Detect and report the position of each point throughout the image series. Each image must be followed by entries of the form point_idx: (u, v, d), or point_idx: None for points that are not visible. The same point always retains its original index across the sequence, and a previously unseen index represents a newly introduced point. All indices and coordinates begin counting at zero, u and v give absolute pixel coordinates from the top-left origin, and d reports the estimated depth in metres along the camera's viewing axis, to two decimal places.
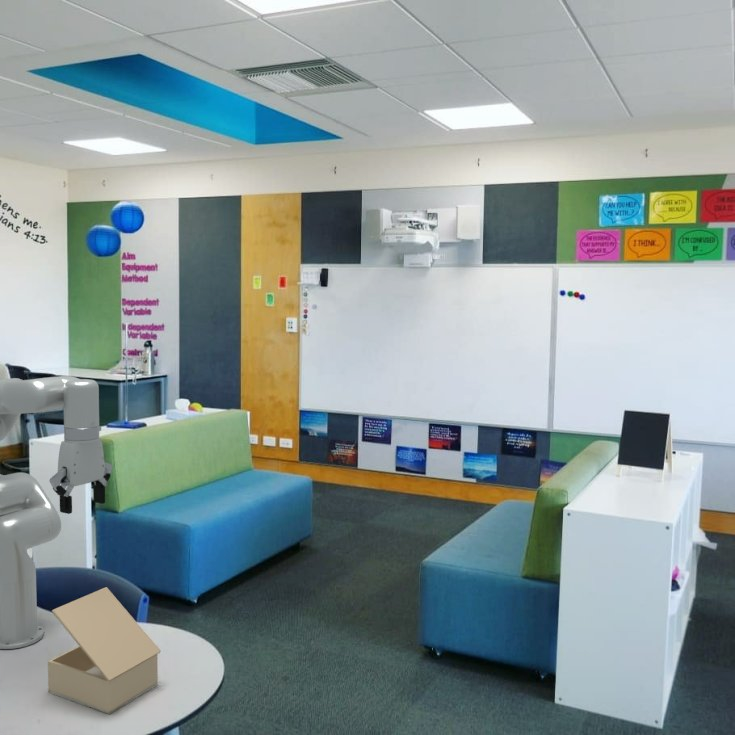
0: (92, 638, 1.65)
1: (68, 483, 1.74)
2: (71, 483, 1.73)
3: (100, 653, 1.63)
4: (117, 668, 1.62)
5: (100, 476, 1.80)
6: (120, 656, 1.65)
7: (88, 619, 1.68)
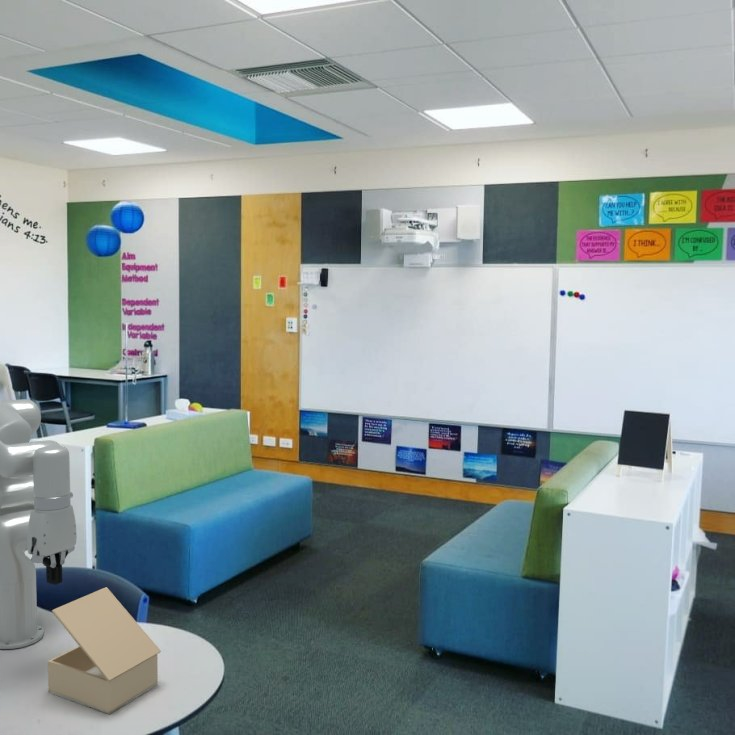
0: (92, 638, 1.65)
1: (47, 556, 1.72)
2: (41, 554, 1.69)
3: (100, 653, 1.63)
4: (117, 668, 1.62)
5: (72, 544, 1.76)
6: (120, 656, 1.65)
7: (88, 619, 1.68)
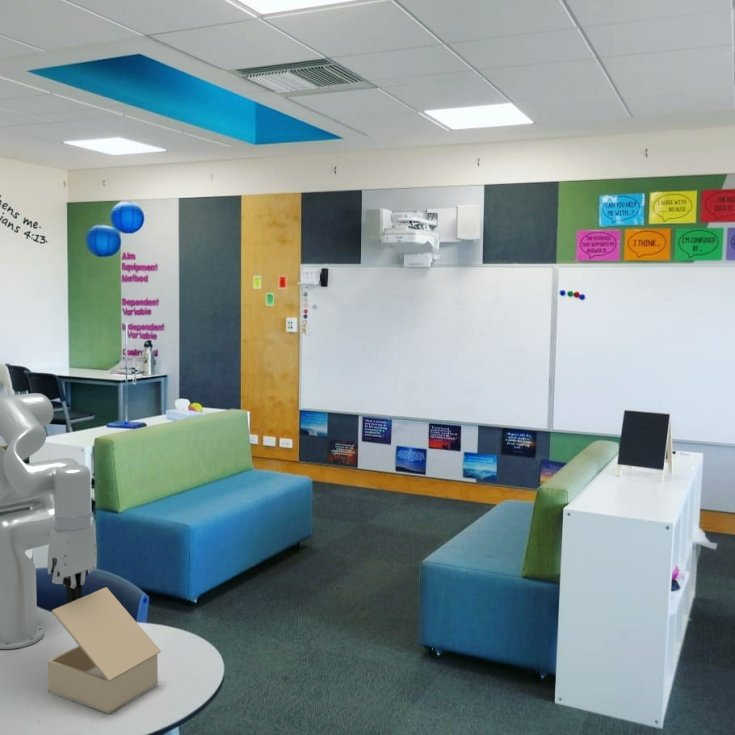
0: (92, 638, 1.65)
1: (68, 577, 1.70)
2: (61, 575, 1.67)
3: (100, 653, 1.63)
4: (117, 668, 1.62)
5: (92, 564, 1.74)
6: (120, 656, 1.65)
7: (88, 619, 1.68)
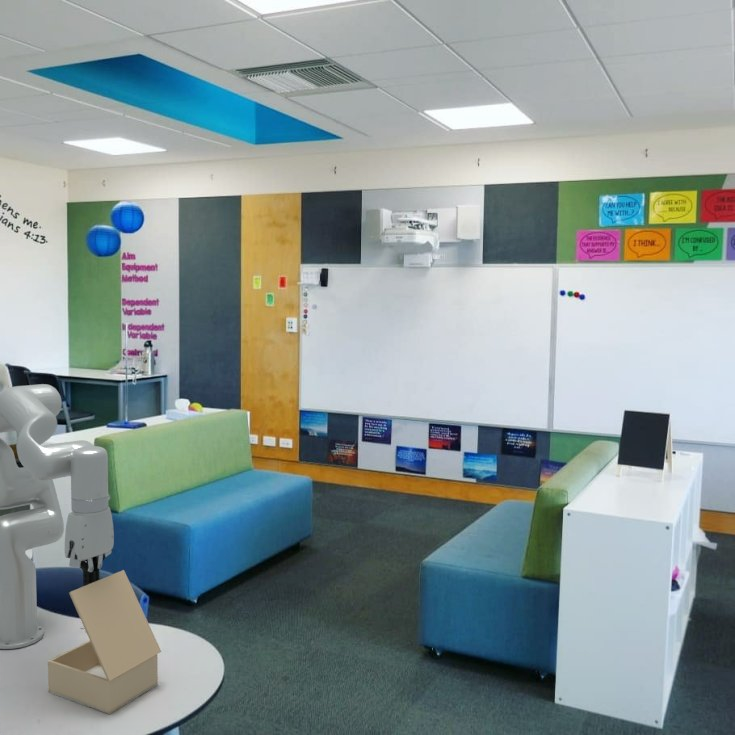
0: (101, 630, 1.63)
1: (85, 560, 1.67)
2: (79, 558, 1.64)
3: (106, 648, 1.62)
4: (119, 668, 1.62)
5: (109, 548, 1.71)
6: (124, 654, 1.64)
7: (101, 607, 1.66)
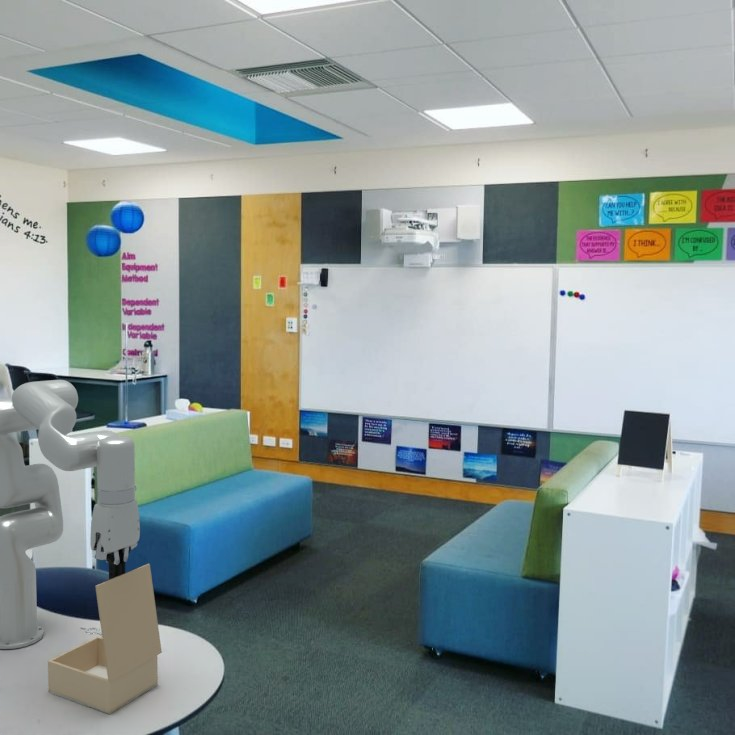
0: (115, 628, 1.61)
1: (111, 552, 1.63)
2: (105, 550, 1.60)
3: (115, 648, 1.61)
4: (121, 668, 1.61)
5: (135, 540, 1.67)
6: (128, 654, 1.64)
7: (120, 603, 1.63)
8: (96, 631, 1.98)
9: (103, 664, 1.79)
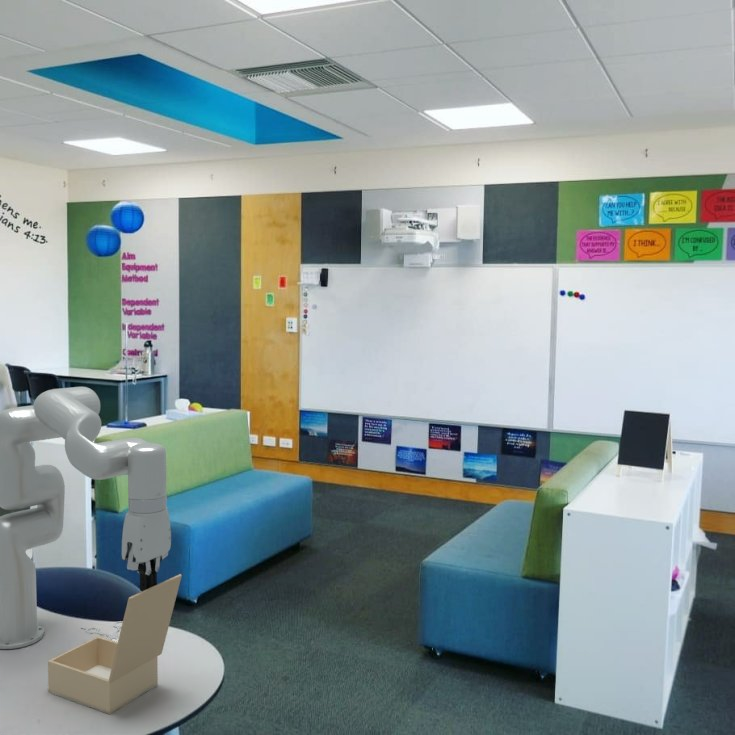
0: (131, 635, 1.59)
1: (143, 562, 1.59)
2: (137, 561, 1.56)
3: (125, 653, 1.59)
4: (123, 670, 1.61)
5: (167, 549, 1.63)
6: (134, 657, 1.63)
7: (144, 612, 1.60)
8: (96, 631, 1.98)
9: (103, 664, 1.79)
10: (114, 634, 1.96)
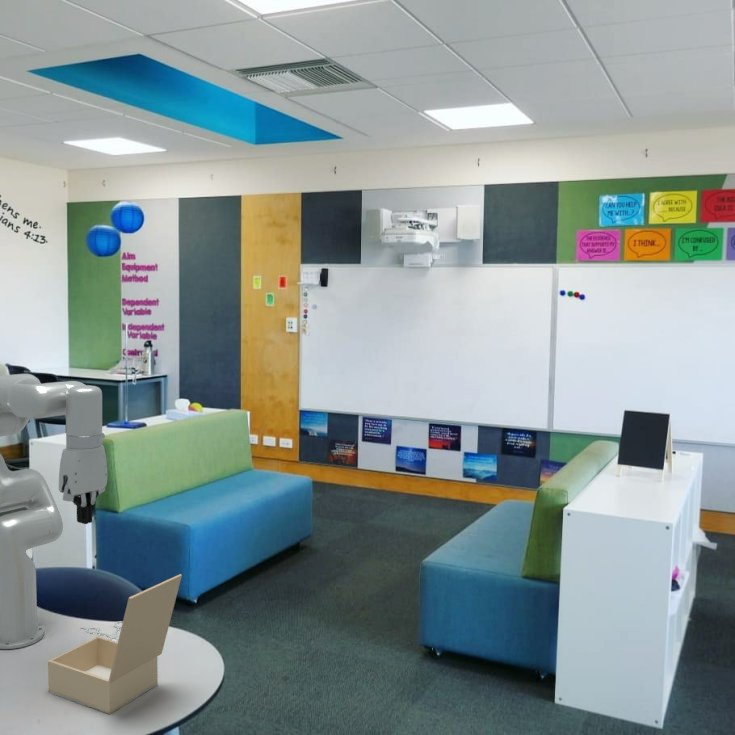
0: (131, 635, 1.59)
1: (78, 495, 1.72)
2: (72, 492, 1.69)
3: (125, 653, 1.59)
4: (123, 670, 1.61)
5: (102, 485, 1.76)
6: (134, 657, 1.63)
7: (144, 613, 1.60)
8: (96, 631, 1.98)
9: (103, 664, 1.79)
10: (114, 634, 1.96)
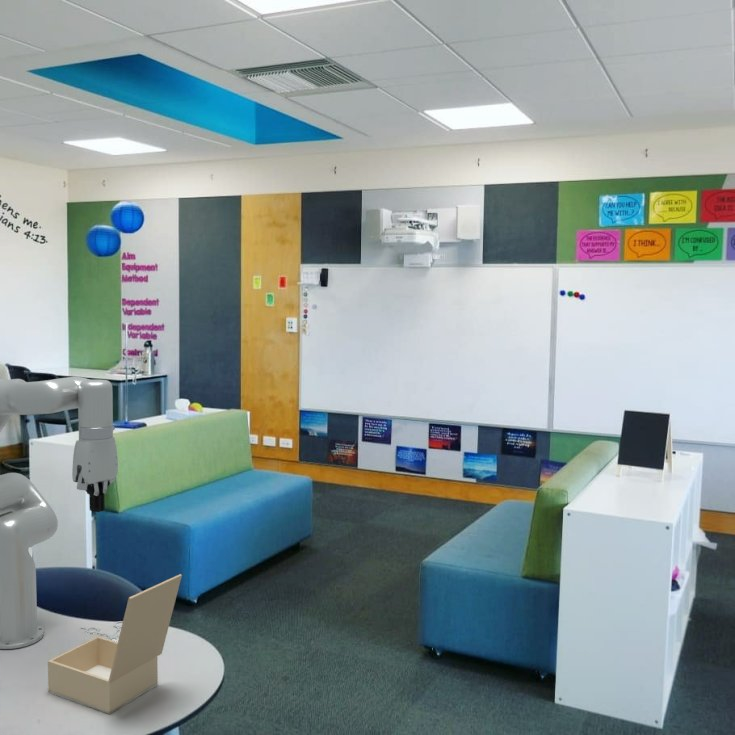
0: (131, 635, 1.59)
1: (91, 484, 1.80)
2: (86, 481, 1.77)
3: (125, 653, 1.59)
4: (123, 670, 1.61)
5: (114, 474, 1.84)
6: (134, 657, 1.63)
7: (144, 613, 1.60)
8: (96, 631, 1.98)
9: (103, 664, 1.79)
10: (114, 634, 1.96)
